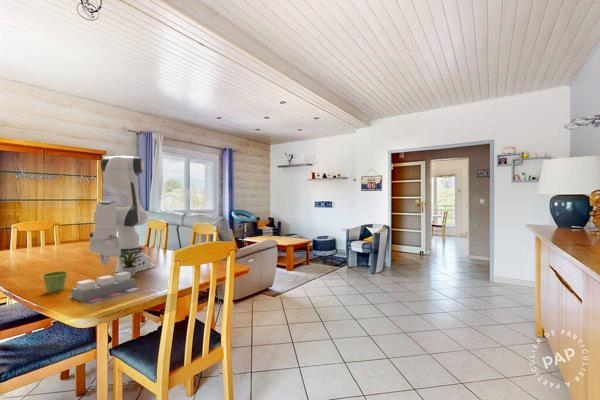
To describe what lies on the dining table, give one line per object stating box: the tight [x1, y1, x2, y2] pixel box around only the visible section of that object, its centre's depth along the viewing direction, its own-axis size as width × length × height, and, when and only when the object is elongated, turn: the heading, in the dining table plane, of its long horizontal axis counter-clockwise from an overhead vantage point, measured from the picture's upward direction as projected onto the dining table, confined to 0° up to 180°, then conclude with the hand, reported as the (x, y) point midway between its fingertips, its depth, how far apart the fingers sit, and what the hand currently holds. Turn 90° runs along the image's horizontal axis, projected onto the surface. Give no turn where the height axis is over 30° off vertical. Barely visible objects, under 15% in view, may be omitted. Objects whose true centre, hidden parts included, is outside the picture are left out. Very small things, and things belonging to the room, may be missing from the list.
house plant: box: [120, 250, 142, 277], centre depth 159 cm, size 14×14×16 cm
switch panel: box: [67, 277, 145, 306], centre depth 132 cm, size 23×20×5 cm
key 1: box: [76, 278, 96, 291], centre depth 126 cm, size 5×5×5 cm
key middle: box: [96, 274, 115, 286], centre depth 133 cm, size 5×5×5 cm
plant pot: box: [41, 270, 69, 294], centre depth 135 cm, size 9×9×9 cm
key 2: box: [114, 272, 132, 282], centre depth 140 cm, size 5×5×5 cm
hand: (104, 263), depth 132 cm, fingers closed
